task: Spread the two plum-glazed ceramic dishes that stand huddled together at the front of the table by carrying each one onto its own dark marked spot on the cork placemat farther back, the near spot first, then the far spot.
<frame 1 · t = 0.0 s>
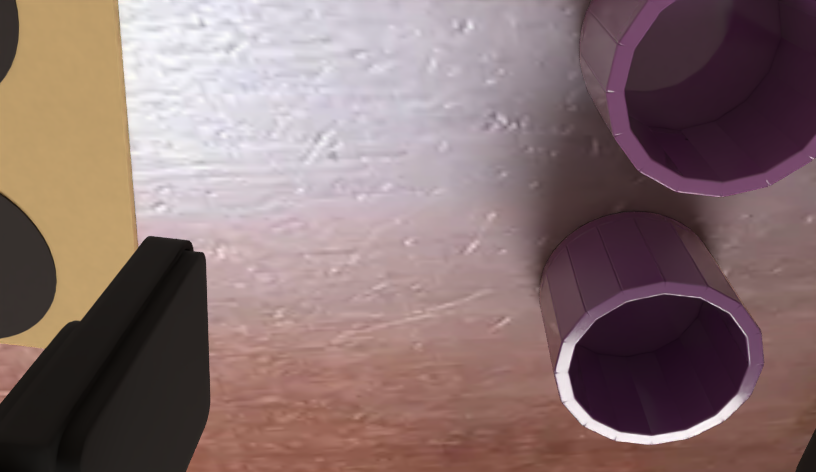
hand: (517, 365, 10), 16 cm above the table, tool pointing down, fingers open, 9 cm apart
plum dish b: (625, 287, 28), on the table
plum dish a: (681, 39, 24), on the table
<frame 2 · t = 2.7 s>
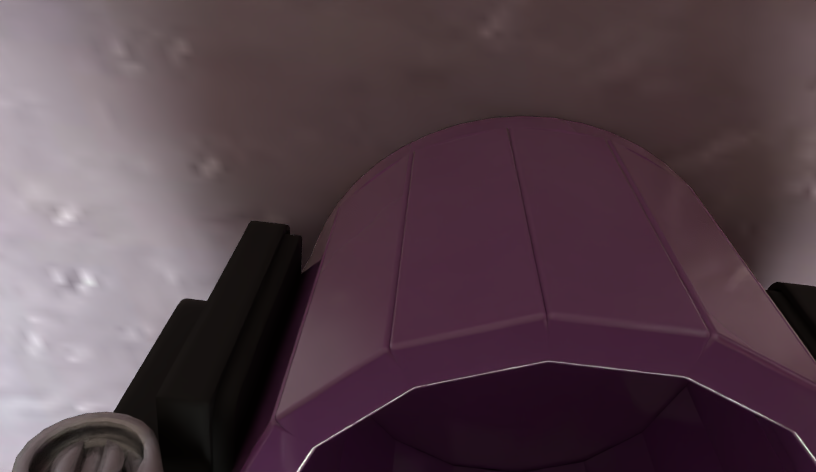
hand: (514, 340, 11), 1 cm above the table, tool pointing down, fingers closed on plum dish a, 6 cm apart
plum dish a: (511, 312, 12), on the table, touching gripper
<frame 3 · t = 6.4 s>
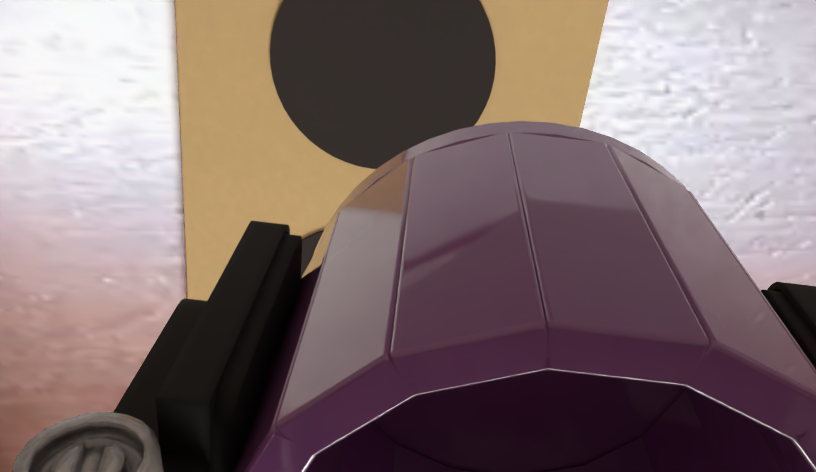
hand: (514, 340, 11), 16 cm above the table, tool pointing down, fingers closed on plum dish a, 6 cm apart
placemat: (371, 193, 27), on the table
plum dish a: (511, 316, 12), point 15 cm above the table, touching gripper
when the fingers open (1 cm above the table, at t = 10.4 s): plum dish a stays where it is, resting on placemat.
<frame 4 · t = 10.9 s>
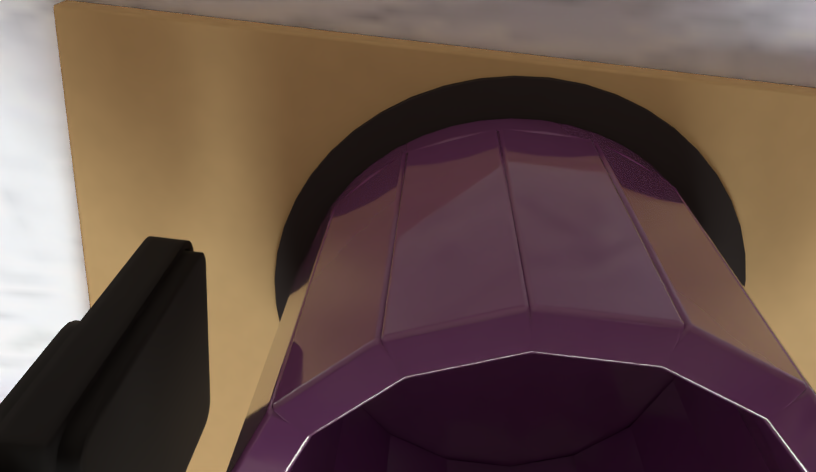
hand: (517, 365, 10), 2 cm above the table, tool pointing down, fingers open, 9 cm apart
plum dish a: (502, 309, 12), resting on placemat
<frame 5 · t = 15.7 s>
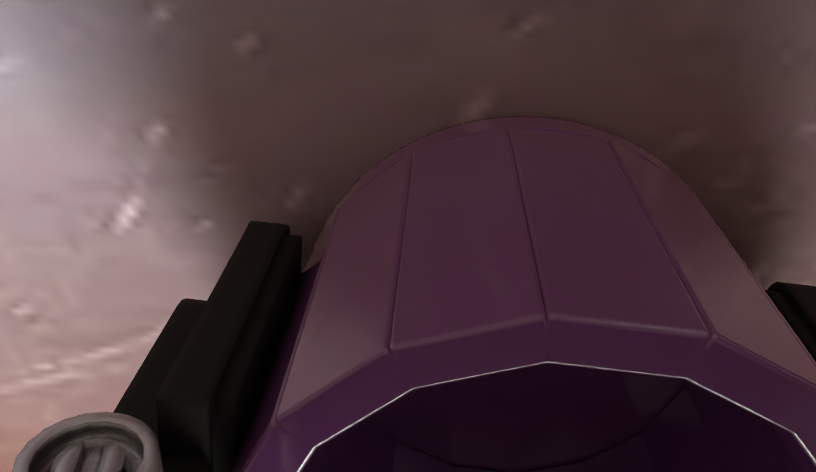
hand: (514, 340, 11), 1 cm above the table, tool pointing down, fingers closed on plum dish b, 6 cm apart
plum dish b: (510, 312, 12), on the table, touching gripper
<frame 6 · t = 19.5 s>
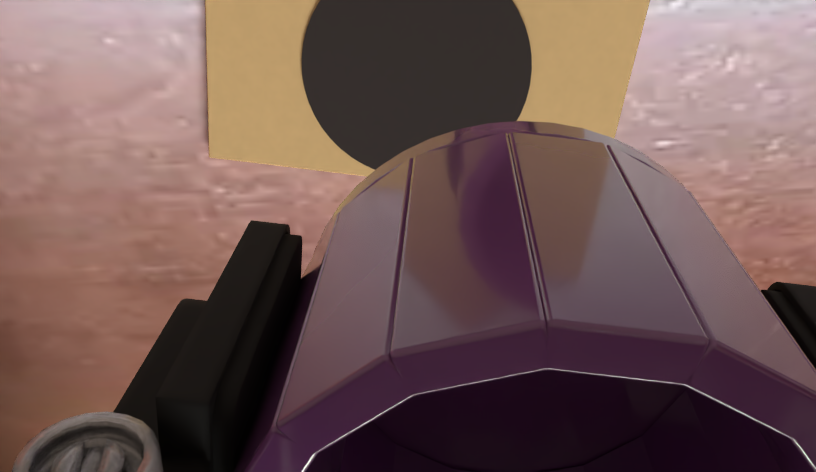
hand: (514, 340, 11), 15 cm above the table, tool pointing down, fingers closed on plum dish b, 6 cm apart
plum dish b: (510, 316, 12), point 14 cm above the table, touching gripper
when the fingers open (1 cm above the table, at t = 23.2 s): plum dish b stays where it is, resting on placemat.
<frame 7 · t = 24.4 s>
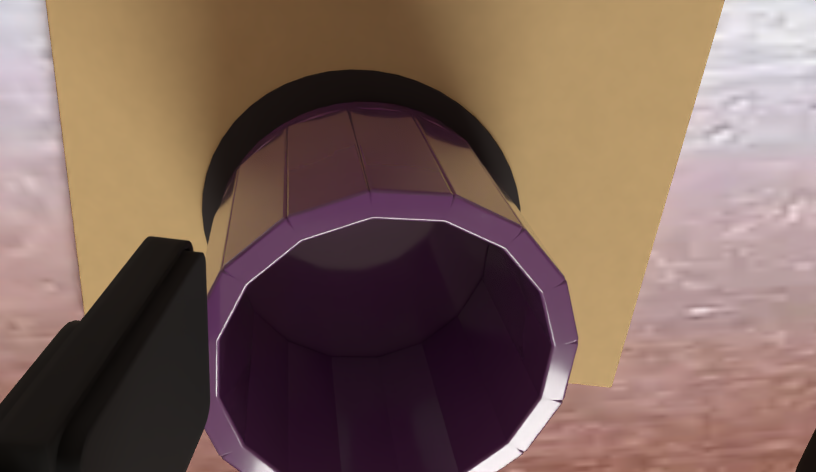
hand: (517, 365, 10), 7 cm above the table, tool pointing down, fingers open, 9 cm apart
placemat: (379, 9, 15), on the table
plum dish b: (362, 240, 17), point 1 cm above the table, tilted 11°, touching placemat
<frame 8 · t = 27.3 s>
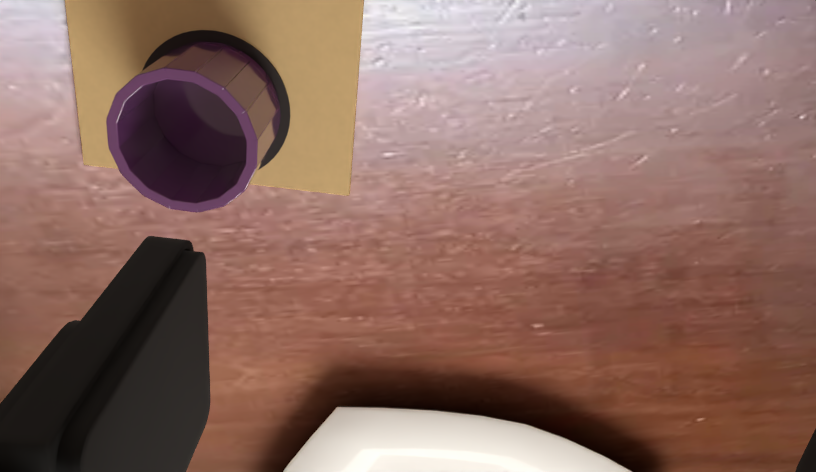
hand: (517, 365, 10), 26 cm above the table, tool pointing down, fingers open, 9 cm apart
placemat: (214, 2, 34), on the table
plum dish b: (214, 108, 36), resting on placemat
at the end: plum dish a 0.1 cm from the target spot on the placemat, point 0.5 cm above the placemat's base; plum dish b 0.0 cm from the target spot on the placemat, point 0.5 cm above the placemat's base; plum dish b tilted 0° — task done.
